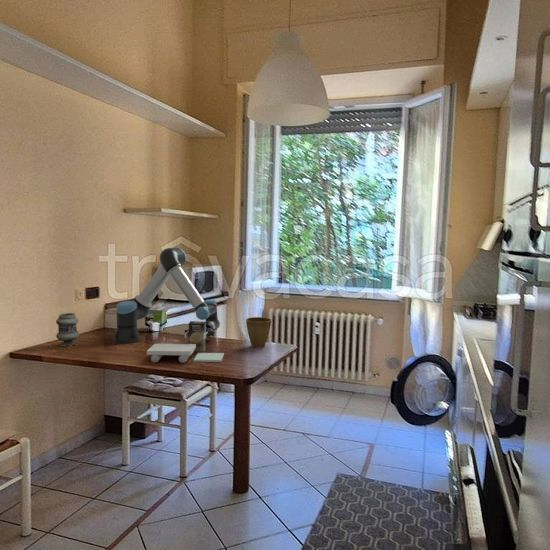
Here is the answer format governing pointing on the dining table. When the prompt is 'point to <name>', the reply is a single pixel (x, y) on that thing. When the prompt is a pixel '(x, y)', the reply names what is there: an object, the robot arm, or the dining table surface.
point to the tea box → (159, 316)
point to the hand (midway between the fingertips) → (194, 336)
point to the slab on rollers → (171, 351)
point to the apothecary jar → (67, 328)
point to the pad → (209, 357)
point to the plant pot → (258, 330)
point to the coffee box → (197, 335)
